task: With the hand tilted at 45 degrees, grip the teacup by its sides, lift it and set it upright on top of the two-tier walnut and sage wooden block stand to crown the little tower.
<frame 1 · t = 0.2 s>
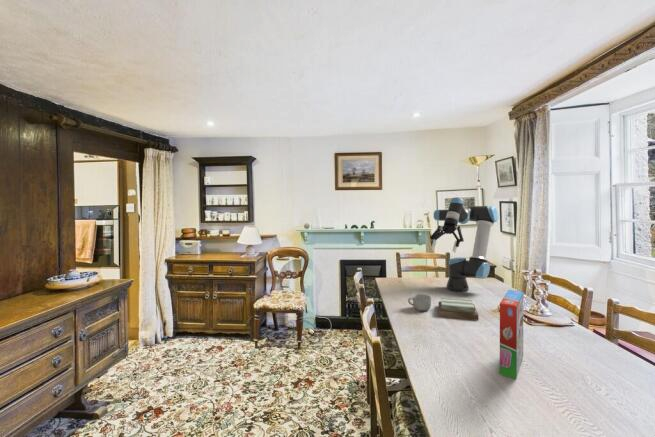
hand: (442, 250, 176), 36 cm above the table, tool tilted 35°, fingers open, 13 cm apart
teacup: (419, 309, 179), on the table
block stand: (457, 312, 172), on the table
game box: (512, 365, 116), on the table
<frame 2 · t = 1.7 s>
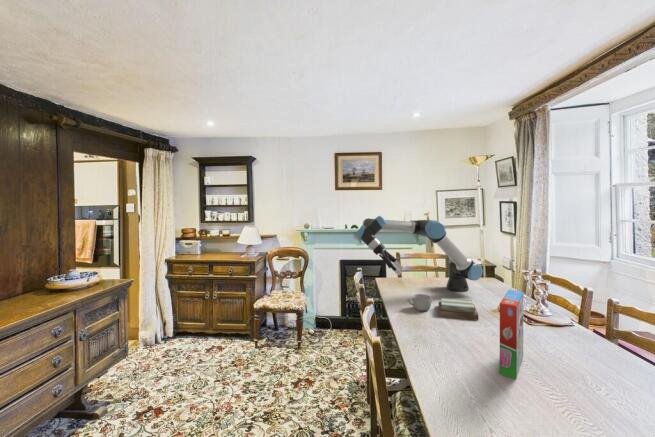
hand: (401, 271, 182), 23 cm above the table, tool tilted 45°, fingers open, 13 cm apart
nothing on the table moved.
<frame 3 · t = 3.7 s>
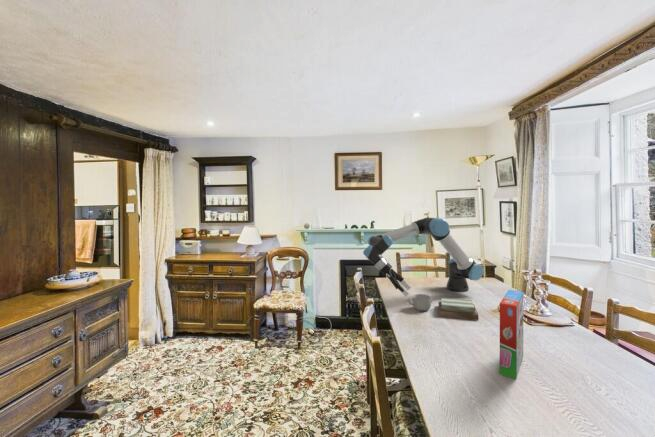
hand: (408, 291, 180), 10 cm above the table, tool tilted 45°, fingers open, 13 cm apart
nothing on the table moved.
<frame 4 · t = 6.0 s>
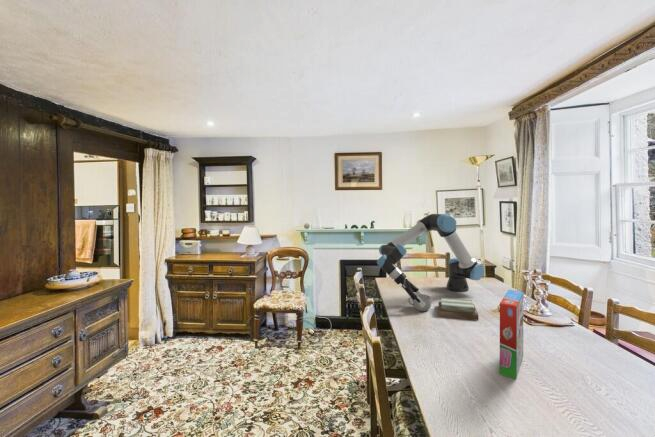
hand: (424, 302, 178), 4 cm above the table, tool tilted 45°, fingers closed on teacup, 11 cm apart
teacup: (419, 309, 179), on the table, touching gripper
everything else where it was.
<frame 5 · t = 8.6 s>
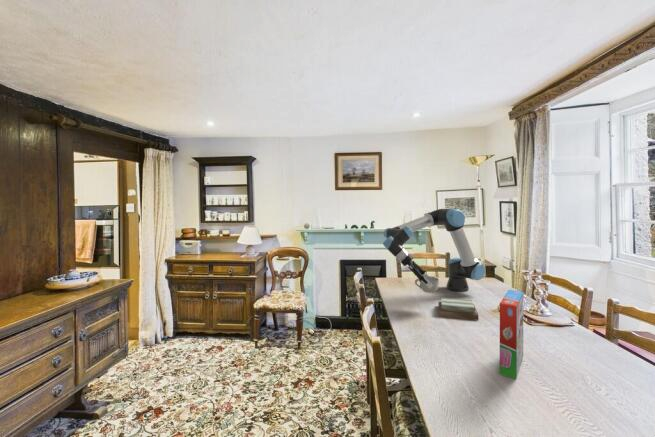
hand: (431, 284, 175), 16 cm above the table, tool tilted 45°, fingers closed on teacup, 11 cm apart
teacup: (426, 291, 176), point 12 cm above the table, touching gripper
everything else where it was.
when the fingers open (12 cm above the table, at t = 11.4 s): teacup drops 1 cm, resting on block stand.
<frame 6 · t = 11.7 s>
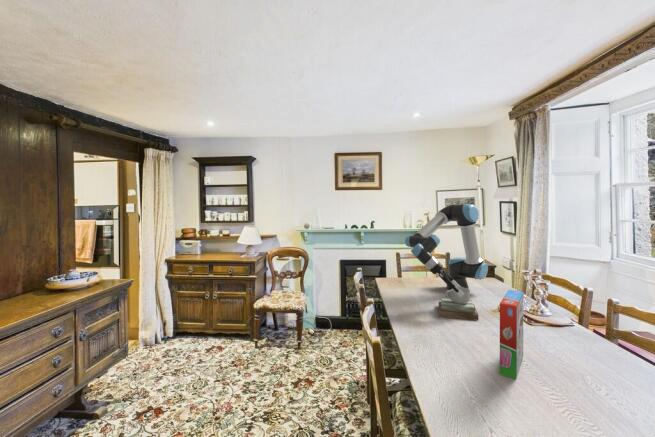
hand: (461, 292, 171), 12 cm above the table, tool tilted 45°, fingers open, 13 cm apart
teacup: (457, 303, 172), point 6 cm above the table, touching block stand
everything else where it was.
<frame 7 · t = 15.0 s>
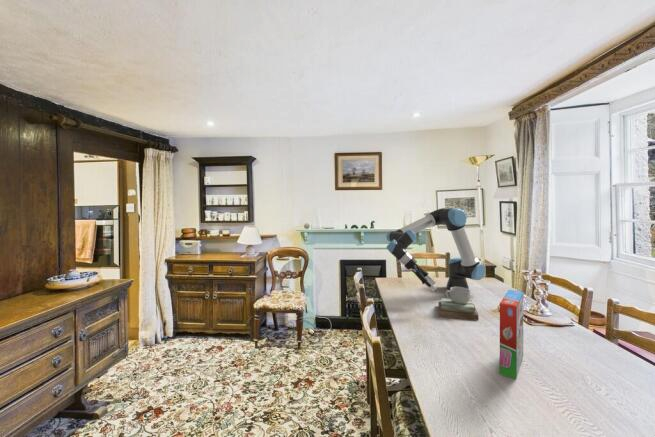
hand: (434, 287, 176), 14 cm above the table, tool tilted 45°, fingers open, 13 cm apart
nothing on the table moved.
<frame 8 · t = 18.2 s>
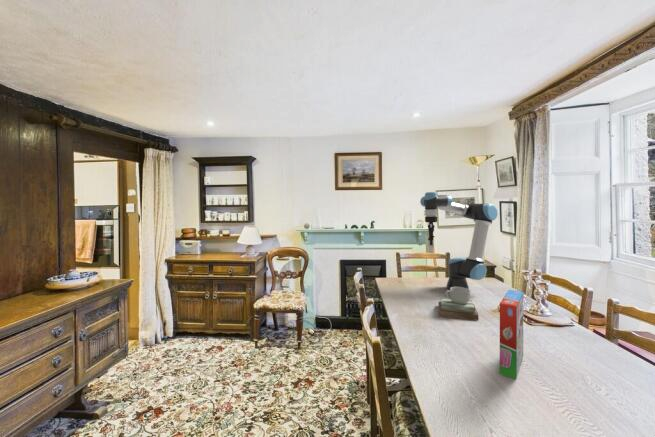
hand: (431, 248, 191), 35 cm above the table, tool pointing down, fingers open, 13 cm apart
nothing on the table moved.
at the end: teacup inside the target area on the block stand (0.1 cm from its centre), point 5.8 cm above the block stand's base; teacup tilted 0°; the gripper is holding nothing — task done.
